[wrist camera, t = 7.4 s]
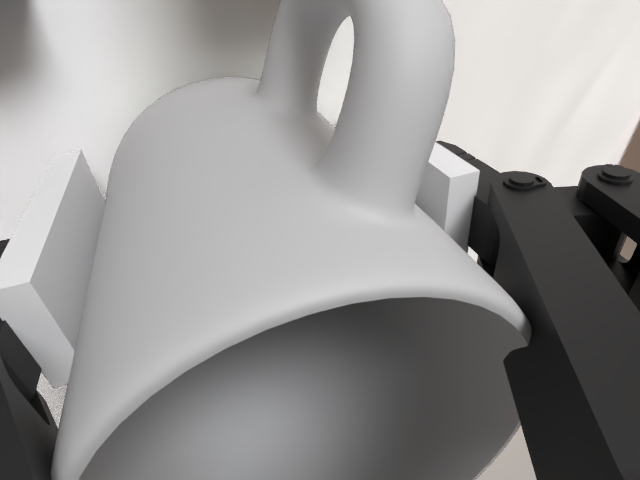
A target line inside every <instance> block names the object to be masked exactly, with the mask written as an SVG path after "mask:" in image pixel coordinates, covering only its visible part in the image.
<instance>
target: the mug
mask: <svg viewBox="0 0 640 480" xmlns="http://www.w3.org/2000/svg"><path fill="white" fill-rule="evenodd" d="M350 15H351V18H352V22H353V25H354V50H353V61H352V67H351V72H350V77H349V82H348V87H347V90H346V94H345V98H344V102H343V106H342V109H341V112H340V115H339V118H338V122H337V125H336V128H334V127H333V126H332V125H331V124H330V123H329V122H328V121H327V120H326V118H325V117H323V116H322V115H321V114H320V113H319V112H318V111H317V96H318V89H319V84H320V79H321V75H322V71H323V67H324V64H325V60H326V57H327V53H328V51H329V48H330V45H331V42H332V40H333V38H334V36H335V33H336V31H337V29H338V28H339V26H340V25H341V23H342V22H343V20H345V19H346V18H347V17H348V16H350ZM454 57H455V37H454V31H453V26H452V21H451V15H450V14H449V12H448V10H447V8H446V7H445V5H444V3H443V1H442V0H281V1H280V4H279V7H278V10H277V13H276V16H275V20H274V24H273V27H272V32H271V36H270V40H269V44H268V49H267V54H266V58H265V63H264V67H263V72H262V76H261V80H257V79H251V78H245V77H221V78H211V79H206V80H202V81H198V82H194V83H191V84H188V85H185V86H183V87H180V88H178V89H175V90H173V91H172V92H170V93H168V94H166V95H165V96H163V97H161V98H159V99H158V100H157V101H156V102H154V103H153V104H152V105H150V106H149V107H148V108H147V109H145V110H144V111H143V113H142V114H141V115H140V116H139V117H138V118H137V119H136V120H135V121H134V122H133V123H132V125H131V126H130V128H129V129H128V131H127V132H126V133H125V135H124V136H123V138H122V141H121V143H120V145H119V147H118V149H117V151H116V153H115V156H114V159H113V163H112V166H111V169H110V174H109V180H108V187H107V194H106V201H105V206H104V212H103V217H102V222H101V227H100V232H99V237H98V241H97V246H96V251H95V256H94V261H93V265H92V270H91V275H90V280H89V285H88V289H87V294H86V299H85V304H84V309H83V314H82V318H81V323H80V328H79V333H78V338H77V342H76V347H75V352H74V357H73V362H72V366H71V371H70V376H69V381H68V386H67V390H66V395H65V400H64V405H63V410H62V414H61V419H60V424H59V429H58V434H57V439H56V444H55V449H54V454H53V461H52V467H51V480H475V479H477V478H478V477H479V476H480V475H481V474H482V472H484V471H485V470H486V468H487V467H489V465H490V464H491V463H492V462H493V461H494V460H495V459H496V458H497V457H498V455H499V454H500V453H501V452H502V451H503V449H504V448H505V447H506V446H507V445H508V443H509V442H510V440H511V439H512V437H513V436H514V435H515V433H516V432H517V431H518V429H519V427H520V426H521V423H520V419H519V416H518V412H517V409H516V405H515V402H514V398H513V395H512V391H511V388H510V385H509V381H508V378H507V374H506V371H505V367H504V364H503V360H504V358H505V357H506V356H507V355H508V354H509V353H510V351H512V350H515V349H518V348H522V347H526V346H528V344H529V341H530V338H531V332H532V329H531V324H530V322H529V320H528V319H527V317H526V316H525V314H524V313H523V312H522V310H521V309H520V308H519V306H518V305H517V304H516V303H515V301H514V300H513V299H512V298H511V297H510V296H509V295H508V293H507V292H506V291H505V290H504V289H503V288H502V287H501V286H500V285H499V284H498V283H497V282H496V281H495V280H494V279H493V278H492V277H491V276H490V275H489V274H488V273H487V272H485V271H484V270H483V269H482V268H481V267H480V266H479V265H478V264H477V263H476V262H475V261H474V260H473V259H472V258H471V257H470V256H469V255H468V254H467V253H466V252H465V251H464V250H463V249H462V248H461V247H460V246H459V245H458V244H457V243H456V242H455V241H454V240H453V239H452V238H451V237H450V236H449V235H448V234H447V233H446V232H445V231H444V230H443V229H442V228H441V227H440V226H439V225H438V224H437V223H436V222H435V221H434V220H433V219H432V218H430V217H429V216H428V215H427V214H426V213H425V212H424V211H423V210H422V209H420V208H419V207H418V206H417V205H416V204H415V200H416V197H417V193H418V190H419V187H420V184H421V181H422V178H423V175H424V172H425V170H426V167H427V164H428V161H429V158H430V155H431V152H432V150H433V147H434V144H435V141H436V138H437V134H438V131H439V128H440V125H441V122H442V118H443V115H444V111H445V108H446V104H447V101H448V97H449V92H450V87H451V82H452V76H453V71H454Z"/></svg>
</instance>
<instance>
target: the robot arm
mask: <svg viewBox="0 0 640 480" xmlns="http://www.w3.org/2000/svg"><path fill="white" fill-rule="evenodd" d="M415 204H416V205H417V206H418V207H419V208H420V209H422V210H423V211H424V212H425V213H426V214H427V215H428V216H429V217H430V218H432V219H433V220H434V221H435V222H436V223H437V224H438V225H439V226H440V227H441V228H442V229H443V230H444V231H445V232H446V233H447V234H448V235H449V236H450V237H451V238H452V239H453V240H454V241H455V242H456V243H457V244H458V245H459V246H460V247H461V248H462V249H463V250H464V251H465V252H466V253H468V246H469V247H470V248H471V249H473V250H474V251H475V252H476V253H477V254H478V259H477V264H478V265H479V266H480V267H481V268H482V269H483V270H484V271H485V272H487V273H488V274H489V275H490V276H491V277H492V278H493V279H494V280H495V281H496V282H497V283H498V284H499V285H500V286H501V287H502V288H503V289H504V290H505V291H506V292H507V293H508V295H509V296H510V297H511V298H512V299H513V300H514V301H515V303H516V304H517V305H518V306H519V308H520V309H521V310H522V312H523V313H524V314H525V316H526V317H527V319H528V320H529V322H530V324H531V329H532V332H531V338H530V341H529V344H528V346H526V347H522V348H518V349H515V350H512V351H510V353H509V354H508V355H507V356H506V357H505V358H504V360H503V364H504V367H505V371H506V374H507V378H508V381H509V385H510V388H511V391H512V395H513V398H514V402H515V405H516V409H517V412H518V416H519V419H520V423H521V426H522V429H523V433H524V437H525V440H526V443H527V447H528V451H529V454H530V457H531V461H532V464H533V468H534V471H535V474H536V478H537V480H640V173H638V172H636V171H634V170H631V169H628V168H624V167H623V166H620V165H614V166H613V165H612V164H606V165H596V166H592V167H588V168H586V169H585V170H584V171H582V175H581V178H580V181H579V184H578V186H569V187H553V186H552V184H551V183H550V182H549V181H548V180H546V179H545V178H543V177H541V176H539V175H536V174H532V173H528V172H519V171H511V172H503V173H499V172H498V171H496V170H495V169H493V168H491V167H490V166H488V165H486V164H485V163H483V162H482V161H480V160H478V159H475V157H474V156H472V155H470V154H469V153H468V154H467V153H466V152H465V151H464V150H462V149H461V148H459V147H457V146H456V145H453V144H449V143H446V142H442V141H436V142H435V144H434V147H433V150H432V152H431V155H430V158H429V161H428V164H427V167H426V170H425V172H424V175H423V178H422V181H421V184H420V187H419V190H418V193H417V197H416V200H415ZM104 206H105V202H104V199H103V197H102V195H101V193H100V190H99V188H98V186H97V184H96V182H95V179H94V177H93V175H92V173H91V170H90V168H89V166H88V164H87V161H86V159H85V157H84V155H83V152H82V150H81V149H80V150H75V151H70V152H64V153H59V154H54V156H53V157H52V159H51V161H50V163H49V165H48V167H47V169H46V171H45V173H44V175H43V177H42V179H41V181H40V183H39V185H38V186H37V188H36V190H35V192H34V194H33V196H32V198H31V200H30V202H29V204H28V206H27V208H26V210H25V212H24V214H23V215H22V217H21V219H20V221H19V223H18V225H17V227H16V229H15V231H14V233H13V235H12V237H11V239H7V240H2V241H0V480H51V467H52V461H53V454H54V449H55V444H56V439H57V434H58V428H57V426H56V423H55V421H54V419H53V417H52V414H51V412H50V410H49V408H48V405H47V403H46V401H45V400H44V398H43V397H42V396H41V395H40V393H39V392H38V391H37V390H36V388H37V384H38V380H39V377H40V373H41V372H42V373H43V375H44V376H45V377H46V379H47V380H48V381H49V383H50V384H51V385H52V387H53V388H56V387H59V386H63V385H66V384H68V381H69V376H70V371H71V366H72V362H73V357H74V352H75V347H76V342H77V338H78V333H79V328H80V323H81V318H82V314H83V309H84V304H85V299H86V294H87V289H88V285H89V280H90V275H91V270H92V265H93V261H94V256H95V251H96V246H97V241H98V237H99V232H100V227H101V222H102V217H103V212H104ZM627 236H628V237H630V238H631V239H632V240H633V241H635V242H636V243H637V247H636V249H635V251H634V253H633V255H632V258H631V259H630V260H629V261H628V260H626V259H625V258H623V257H622V256H621V255H620V252H621V250H622V247H623V245H624V242H625V240H626V238H627Z"/></svg>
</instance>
